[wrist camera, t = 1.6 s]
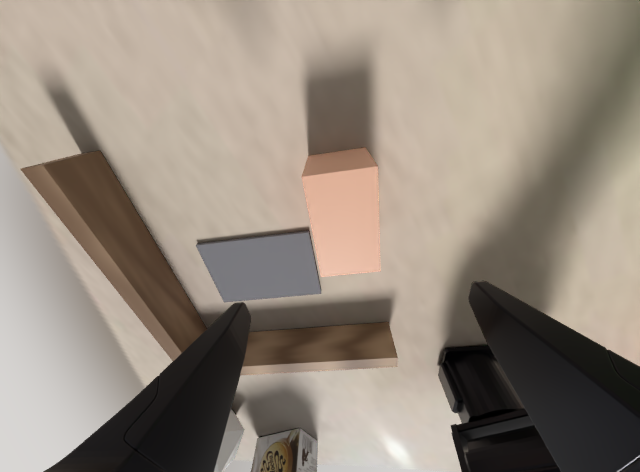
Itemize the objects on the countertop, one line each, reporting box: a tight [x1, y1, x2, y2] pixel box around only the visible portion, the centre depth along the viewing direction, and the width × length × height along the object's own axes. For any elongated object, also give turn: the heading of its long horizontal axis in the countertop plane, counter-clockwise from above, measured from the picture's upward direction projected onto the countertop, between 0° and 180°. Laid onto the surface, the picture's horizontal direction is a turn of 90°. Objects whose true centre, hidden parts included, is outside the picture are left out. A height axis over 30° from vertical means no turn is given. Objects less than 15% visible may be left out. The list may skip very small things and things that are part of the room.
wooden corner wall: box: [21, 151, 398, 375], centre depth 20 cm, size 22×22×4 cm
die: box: [214, 409, 244, 472], centre depth 34 cm, size 8×9×10 cm
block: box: [302, 147, 381, 277], centre depth 16 cm, size 4×7×5 cm, turn 9°
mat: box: [196, 231, 321, 302], centre depth 22 cm, size 10×7×1 cm
